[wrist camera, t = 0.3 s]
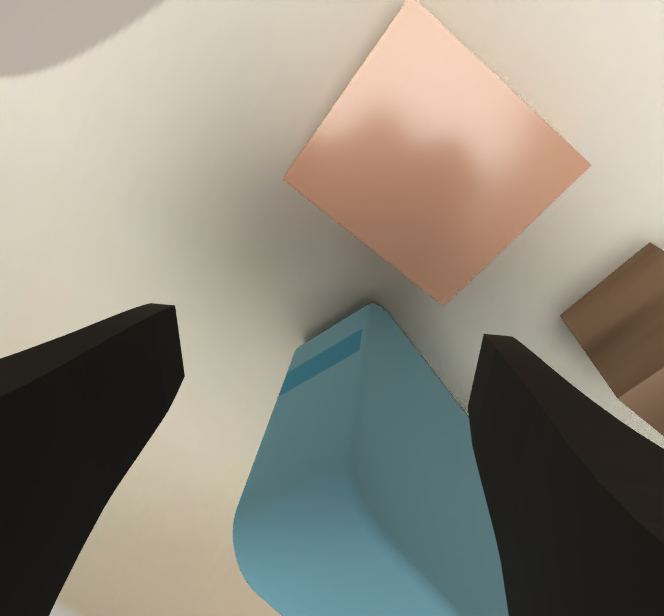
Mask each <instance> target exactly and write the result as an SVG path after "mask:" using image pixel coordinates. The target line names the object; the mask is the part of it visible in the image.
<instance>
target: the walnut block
mask: <svg viewBox="0 0 664 616" xmlns="http://www.w3.org/2000/svg"><path fill="white" fill-rule="evenodd" d="M560 316H561V318H562V319H563V321H564V322H565V324H566V325H567V326H568V328H569V329H570V331H571V332H572V334H573V335H574V336H575V338H576V339H577V341H578V342H579V344H580V345H581V347H582V348H583V349H584V351H585V352H586V354H587V355H588V357H589V358H590V359H591V361H592V362H593V364H594V365H595V367H596V368H597V370H598V371H599V372H600V374H601V375H602V377H603V378H604V380H605V381H606V382H607V384H608V385H609V387H610V388H611V390H612V391H613V392H614V394H615V395H616V397H617V398H618V399H619V400H620V401H621V402H623V403H624V404H625V405H626V406H627V407H629V408H630V409H631V410H632V411H634V412H635V413H636V414H637V415H639V416H640V417H641V418H642V419H643V420H645V421H646V422H647V423H648V424H650V425H651V426H652V427H653V428H654V429H656V430H657V431H658V432H659V433H661V434H662V435H663V436H664V251H663V250H661V249H660V248H658V247H657V246H655V245H653V244H652V243H648V244H647V245H646V246H645V247H644V248H642V249H641V250H640V251H639V252H637V253H636V254H635V255H634V256H633V257H631V258H630V259H629V260H628V261H626V262H625V263H624V264H623V265H622V266H620V267H619V268H618V269H617V270H615V271H614V272H613V273H612V274H611V275H609V276H608V277H607V278H606V279H604V280H603V281H602V282H601V283H600V284H598V285H597V286H596V287H595V288H593V289H592V290H591V291H590V292H589V293H587V294H586V295H585V296H584V297H582V298H581V299H580V300H579V301H578V302H576V303H575V304H574V305H573V306H571V307H570V308H569V309H568V310H567V311H565V312H564V313H563V314H562V315H560Z"/></svg>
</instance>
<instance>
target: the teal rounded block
mask: <svg viewBox="0 0 664 616" xmlns="http://www.w3.org/2000/svg"><path fill="white" fill-rule="evenodd" d="M233 544H234V550H235V555H236V559H237V562H238V565H239V568H240V570H241V572H242V574H243V576H244V578H245V580H246V581H247V583H248V584H249V586H250V587H251V588H252V589H253V591H254V592H256V593H257V594H258V595H259V596H260V597H261V598H262V599H263V600H265V601H266V602H267V603H268V604H269V605H270V606H272V607H273V608H274V609H275V610H276V611H277V612H279V613H280V614H281V615H282V616H509V614H508V607H507V601H506V594H505V587H504V581H503V574H502V567H501V561H500V556H499V552H498V547H497V542H496V538H495V534H494V530H493V526H492V522H491V518H490V514H489V510H488V506H487V502H486V499H485V495H484V491H483V487H482V483H481V479H480V475H479V471H478V467H477V463H476V459H475V455H474V451H473V447H472V439H471V431H470V422H469V417H468V416H467V414H466V413H465V412H464V410H463V409H462V408H461V407H460V405H459V404H458V403H457V401H456V400H455V399H454V397H453V396H452V395H451V394H450V392H449V391H448V390H447V388H446V387H445V386H444V384H443V383H442V382H441V381H440V379H439V378H438V377H437V375H436V374H435V373H434V371H433V370H432V369H431V368H430V366H429V365H428V364H427V362H426V361H425V360H424V358H423V357H422V356H421V355H420V353H419V352H418V351H417V349H416V348H415V347H414V345H413V344H412V343H411V342H410V340H409V339H408V338H407V336H406V335H405V334H404V332H403V331H402V330H401V328H400V327H399V326H398V325H397V323H396V322H395V321H394V319H393V318H392V317H391V316H390V314H389V313H388V312H387V311H386V310H385V309H384V308H382V307H381V306H379V305H377V304H374V303H371V304H368V305H366V306H364V307H363V308H361V309H360V310H358V311H356V312H355V313H353V314H351V315H350V316H348V317H347V318H345V319H343V320H342V321H340V322H338V323H337V324H335V325H334V326H332V327H330V328H329V329H327V330H325V331H324V332H322V333H321V334H319V335H317V336H316V337H314V338H312V339H311V340H309V341H307V342H306V343H304V344H303V345H301V346H300V347H298V348H297V349H296V351H295V353H294V356H293V358H292V361H291V364H290V366H289V369H288V372H287V375H286V377H285V380H284V383H283V385H282V388H281V391H280V393H279V396H278V399H277V402H276V404H275V407H274V410H273V412H272V415H271V418H270V420H269V423H268V426H267V428H266V431H265V434H264V437H263V439H262V442H261V445H260V447H259V450H258V453H257V455H256V458H255V461H254V464H253V466H252V469H251V472H250V474H249V477H248V480H247V482H246V485H245V488H244V490H243V493H242V496H241V499H240V501H239V504H238V507H237V510H236V513H235V517H234V522H233Z"/></svg>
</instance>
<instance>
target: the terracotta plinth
mask: <svg viewBox="0 0 664 616" xmlns="http://www.w3.org/2000/svg"><path fill="white" fill-rule="evenodd" d="M590 166H591V164H590V163H589V162H588V161H587V160H585V159H584V158H583V157H582V156H581V155H580V154H579V153H578V152H577V151H576V150H575V149H574V148H573V147H572V146H571V145H570V144H569V143H567V142H566V141H565V140H564V139H563V138H562V137H561V136H560V135H559V134H558V133H557V132H556V131H555V130H554V129H553V128H552V127H551V126H549V125H548V124H547V123H546V122H545V121H544V120H543V119H542V118H541V117H540V116H539V115H538V114H537V113H536V112H535V111H534V110H532V109H531V108H530V107H529V106H528V105H527V104H526V103H525V102H524V101H523V100H522V99H521V98H520V97H519V96H518V95H517V94H516V93H514V92H513V91H512V90H511V89H510V88H509V87H508V86H507V85H506V84H505V83H504V82H503V81H502V80H501V79H500V78H499V77H498V76H496V75H495V74H494V73H493V72H492V71H491V70H490V69H489V68H488V67H487V66H486V65H485V64H484V63H483V62H482V61H481V60H480V59H478V58H477V57H476V56H475V55H474V54H473V53H472V52H471V51H470V50H469V49H468V48H467V47H466V46H465V45H464V44H463V43H461V42H460V41H459V40H458V39H457V38H456V37H455V36H454V35H453V34H452V33H451V32H450V31H449V30H448V29H447V28H446V27H445V26H443V25H442V24H441V23H440V22H439V21H438V20H437V19H436V18H435V17H434V16H433V15H432V14H431V13H430V12H429V11H428V10H427V9H425V8H424V7H423V6H422V5H421V4H420V3H419V2H418V1H417V0H407V1H406V2H405V4H404V5H403V7H402V8H401V9H400V11H399V12H398V14H397V15H396V17H395V18H394V19H393V21H392V22H391V24H390V25H389V27H388V28H387V30H386V31H385V32H384V34H383V35H382V37H381V38H380V40H379V41H378V42H377V44H376V45H375V47H374V48H373V50H372V51H371V53H370V54H369V55H368V57H367V58H366V60H365V61H364V63H363V64H362V65H361V67H360V68H359V70H358V71H357V73H356V74H355V76H354V77H353V78H352V80H351V81H350V83H349V84H348V86H347V87H346V88H345V90H344V91H343V93H342V94H341V96H340V97H339V99H338V100H337V101H336V103H335V104H334V106H333V107H332V109H331V110H330V111H329V113H328V114H327V116H326V117H325V119H324V120H323V122H322V123H321V124H320V126H319V127H318V129H317V130H316V132H315V133H314V134H313V136H312V137H311V139H310V140H309V142H308V143H307V145H306V146H305V147H304V149H303V150H302V152H301V153H300V155H299V156H298V157H297V159H296V160H295V162H294V163H293V165H292V166H291V168H290V169H289V170H288V172H287V173H286V175H285V176H284V178H283V180H284V181H285V182H287V183H288V184H289V185H290V186H292V187H293V188H294V189H296V190H297V191H298V192H299V193H301V194H302V195H303V196H304V197H306V198H307V199H308V200H309V201H311V202H312V203H313V204H315V205H316V206H317V207H318V208H320V209H321V210H322V211H323V212H325V213H326V214H327V215H328V216H330V217H331V218H332V219H334V220H335V221H336V222H337V223H339V224H340V225H341V226H342V227H344V228H345V229H346V230H347V231H349V232H350V233H351V234H353V235H354V236H355V237H356V238H358V239H359V240H360V241H361V242H363V243H364V244H365V245H366V246H368V247H369V248H370V249H372V250H373V251H374V252H375V253H377V254H378V255H379V256H380V257H382V258H383V259H384V260H386V261H387V262H388V263H389V264H391V265H392V266H393V267H394V268H396V269H397V270H398V271H399V272H401V273H402V274H403V275H405V276H406V277H407V278H408V279H410V280H411V281H412V282H413V283H415V284H416V285H417V286H418V287H420V288H421V289H422V290H424V291H425V292H426V293H427V294H429V295H430V296H431V297H432V298H434V299H435V300H436V301H437V302H439V303H440V304H441V305H443V306H445V305H446V304H447V303H448V302H449V301H450V300H451V299H452V298H453V297H454V296H455V295H456V294H457V293H458V292H459V291H460V290H461V289H462V288H464V287H465V286H466V285H467V284H468V283H469V282H470V281H471V280H472V279H473V278H474V277H475V276H476V275H477V274H478V273H479V272H480V271H481V270H482V269H483V268H484V267H485V266H487V265H488V264H489V263H490V262H491V261H492V260H493V259H494V258H495V257H496V256H497V255H498V254H499V253H500V252H501V251H502V250H503V249H504V248H505V247H506V246H507V245H508V244H510V243H511V242H512V241H513V240H514V239H515V238H516V237H517V236H518V235H519V234H520V233H521V232H522V231H523V230H524V229H525V228H526V227H527V226H528V225H529V224H530V223H531V222H532V221H534V220H535V219H536V218H537V217H538V216H539V215H540V214H541V213H542V212H543V211H544V210H545V209H546V208H547V207H548V206H549V205H550V204H551V203H552V202H553V201H554V200H555V199H557V198H558V197H559V196H560V195H561V194H562V193H563V192H564V191H565V190H566V189H567V188H568V187H569V186H570V185H571V184H572V183H573V182H574V181H575V180H576V179H577V178H578V177H580V176H581V175H582V174H583V173H584V172H585V171H586V170H587V169H588V168H589V167H590Z"/></svg>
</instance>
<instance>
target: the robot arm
mask: <svg viewBox="0 0 664 616" xmlns="http://www.w3.org/2000/svg"><path fill="white" fill-rule="evenodd" d="M184 377H185V375H184V367H183V360H182V353H181V346H180V338H179V331H178V324H177V317H176V309H175V306H174V305H163V304H153V303H150V304H146V305H142V306H139V307H136V308H133V309H130V310H128V311H125V312H122V313H120V314H117V315H115V316H112V317H110V318H107V319H105V320H102V321H100V322H97V323H95V324H92V325H90V326H87V327H85V328H82V329H80V330H77V331H75V332H72V333H70V334H67V335H65V336H62V337H59V338H56V339H54V340H51V341H48V342H46V343H43V344H40V345H38V346H35V347H32V348H29V349H27V350H24V351H21V352H19V353H16V354H13V355H10V356H7V357H4V358H0V616H49V614H50V612H51V610H52V608H53V606H54V604H55V602H56V599H57V597H58V595H59V593H60V591H61V589H62V587H63V585H64V583H65V581H66V579H67V577H68V575H69V573H70V571H71V569H72V567H73V565H74V563H75V561H76V559H77V557H78V555H79V553H80V551H81V550H82V548H83V546H84V544H85V542H86V540H87V538H88V536H89V535H90V533H91V531H92V529H93V527H94V525H95V524H96V522H97V520H98V518H99V516H100V514H101V512H102V511H103V509H104V507H105V505H106V504H107V502H108V500H109V499H110V497H111V496H112V494H113V492H114V491H115V489H116V488H117V486H118V485H119V483H120V482H121V480H122V479H123V477H124V476H125V474H126V473H127V471H128V470H129V468H130V467H131V466H132V464H133V463H134V461H135V460H136V458H137V457H138V455H139V454H140V452H141V451H142V449H143V448H144V446H145V445H146V444H147V442H148V441H149V439H150V438H151V436H152V435H153V433H154V432H155V430H156V429H157V427H158V426H159V424H160V423H161V421H162V420H163V418H164V417H165V415H166V413H167V412H168V410H169V408H170V406H171V404H172V402H173V400H174V398H175V396H176V394H177V392H178V390H179V388H180V386H181V383H182V381H183V379H184ZM468 412H469V422H470V431H471V439H472V447H473V451H474V455H475V459H476V463H477V467H478V471H479V475H480V479H481V483H482V487H483V491H484V495H485V499H486V502H487V506H488V510H489V514H490V518H491V522H492V526H493V530H494V534H495V538H496V542H497V547H498V552H499V556H500V561H501V567H502V574H503V581H504V587H505V594H506V601H507V607H508V614H509V616H664V449H663V448H661V447H660V446H658V445H657V444H655V443H653V442H652V441H650V440H649V439H647V438H645V437H644V436H642V435H641V434H639V433H637V432H636V431H634V430H633V429H631V428H630V427H628V426H627V425H625V424H624V423H622V422H621V421H620V420H618V419H617V418H615V417H614V416H613V415H611V414H610V413H608V412H607V411H606V410H604V409H603V408H602V407H600V406H599V405H597V404H596V403H595V402H593V401H592V400H591V399H589V398H588V397H587V396H585V395H584V394H583V393H582V392H580V391H579V390H578V389H576V388H575V387H574V386H573V385H571V384H570V383H569V382H568V381H566V380H565V379H564V378H563V377H562V376H560V375H559V374H558V373H557V372H555V371H554V370H553V369H552V368H551V367H549V366H548V365H547V364H546V363H545V362H543V361H542V360H541V359H540V358H539V357H538V356H536V355H535V354H534V353H533V352H532V351H530V350H529V349H528V348H527V347H525V346H524V345H523V344H522V343H520V342H519V341H518V340H516V339H515V338H513V337H511V336H500V335H489V334H484V336H483V340H482V345H481V349H480V354H479V359H478V363H477V368H476V372H475V377H474V381H473V386H472V391H471V395H470V400H469V404H468Z"/></svg>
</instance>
